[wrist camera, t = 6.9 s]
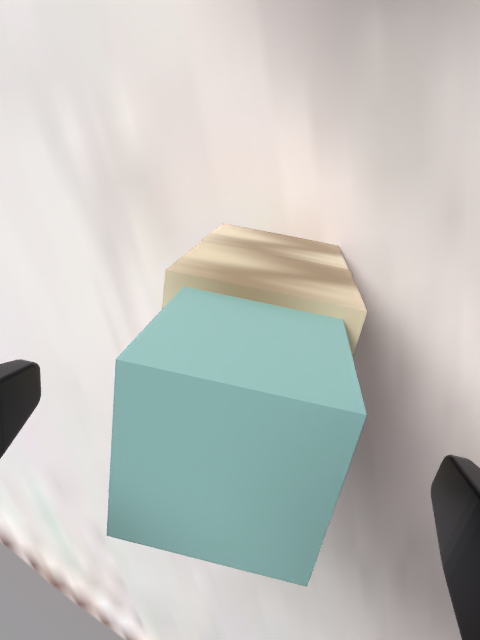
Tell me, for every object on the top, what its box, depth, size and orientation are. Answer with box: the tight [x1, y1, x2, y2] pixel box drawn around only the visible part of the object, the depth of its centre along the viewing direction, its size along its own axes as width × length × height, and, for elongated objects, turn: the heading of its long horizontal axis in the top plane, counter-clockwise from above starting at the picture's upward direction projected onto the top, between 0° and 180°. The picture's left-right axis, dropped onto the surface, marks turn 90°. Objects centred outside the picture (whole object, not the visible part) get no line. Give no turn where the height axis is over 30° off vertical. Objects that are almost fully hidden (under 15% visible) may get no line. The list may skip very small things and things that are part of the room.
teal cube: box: [107, 286, 367, 586], centre depth 9 cm, size 4×4×4 cm
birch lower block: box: [201, 223, 348, 269], centre depth 16 cm, size 5×5×4 cm
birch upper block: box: [162, 240, 367, 358], centre depth 13 cm, size 5×5×4 cm
